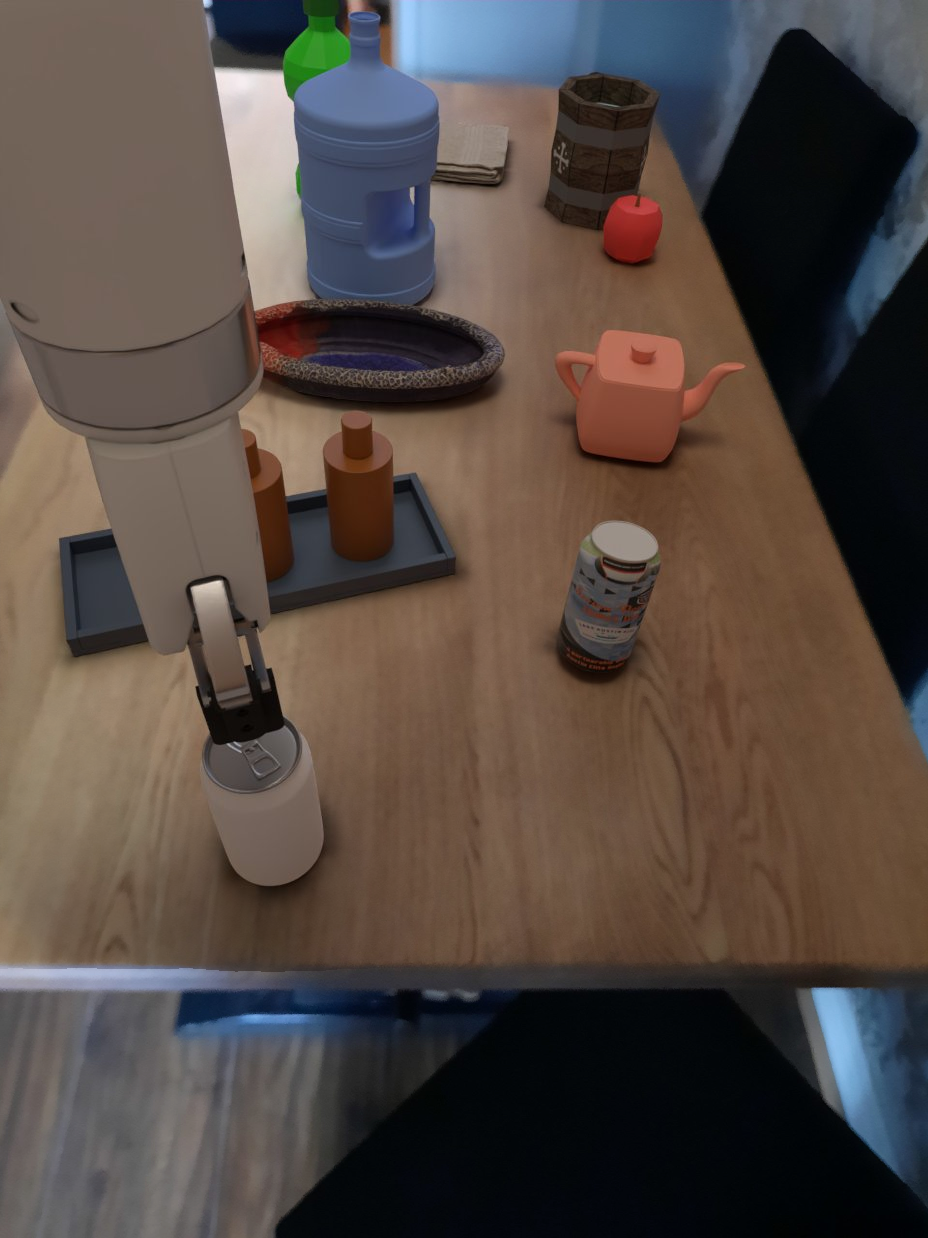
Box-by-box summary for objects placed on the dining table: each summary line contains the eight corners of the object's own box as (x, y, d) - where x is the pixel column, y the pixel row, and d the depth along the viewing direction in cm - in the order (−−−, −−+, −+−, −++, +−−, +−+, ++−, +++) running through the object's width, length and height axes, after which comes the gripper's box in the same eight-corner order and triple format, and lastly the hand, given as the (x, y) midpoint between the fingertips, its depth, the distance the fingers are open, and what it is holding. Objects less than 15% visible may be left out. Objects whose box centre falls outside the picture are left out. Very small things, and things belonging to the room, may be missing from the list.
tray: (74, 657, 67) (66, 640, 65) (66, 555, 74) (58, 537, 72) (455, 573, 75) (456, 556, 73) (415, 488, 82) (416, 471, 80)
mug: (645, 231, 119) (671, 113, 108) (549, 228, 118) (565, 108, 107) (621, 171, 132) (642, 59, 120) (534, 167, 131) (547, 55, 119)
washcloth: (422, 181, 125) (423, 159, 123) (434, 134, 137) (435, 113, 135) (503, 189, 125) (505, 167, 123) (508, 140, 137) (510, 119, 135)
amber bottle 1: (234, 589, 71) (207, 468, 62) (223, 544, 75) (195, 422, 65) (300, 575, 73) (284, 455, 63) (286, 531, 76) (269, 410, 66)
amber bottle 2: (339, 567, 74) (329, 447, 64) (324, 524, 77) (312, 403, 67) (401, 554, 75) (401, 435, 65) (384, 512, 78) (381, 392, 69)
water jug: (287, 300, 102) (256, 25, 81) (337, 242, 112) (322, -16, 91) (410, 327, 100) (412, 51, 79) (450, 266, 110) (462, 6, 88)
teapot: (550, 389, 93) (564, 301, 85) (715, 412, 92) (745, 325, 84) (540, 455, 86) (554, 365, 78) (719, 481, 85) (752, 392, 77)
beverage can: (548, 674, 68) (571, 570, 59) (563, 607, 73) (586, 502, 64) (626, 692, 68) (661, 590, 58) (636, 623, 72) (670, 519, 63)
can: (291, 783, 61) (271, 684, 52) (343, 850, 58) (331, 757, 49) (209, 835, 58) (173, 740, 49) (259, 909, 55) (230, 822, 46)
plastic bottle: (362, 232, 114) (354, 10, 95) (285, 222, 115) (262, -1, 96) (378, 199, 121) (374, -14, 102) (306, 190, 122) (288, -24, 102)
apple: (638, 276, 111) (651, 214, 105) (586, 255, 114) (596, 194, 108) (667, 254, 115) (682, 193, 109) (616, 234, 118) (628, 174, 112)
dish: (495, 429, 88) (500, 387, 85) (203, 396, 89) (195, 354, 85) (506, 346, 98) (511, 306, 95) (244, 318, 99) (237, 277, 95)
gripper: (20, 235, 33) (134, 548, 46) (33, 535, 23) (176, 829, 36) (216, 212, 35) (272, 520, 48) (312, 480, 24) (350, 779, 38)
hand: (231, 652), depth 42 cm, fingers open, 9 cm apart
